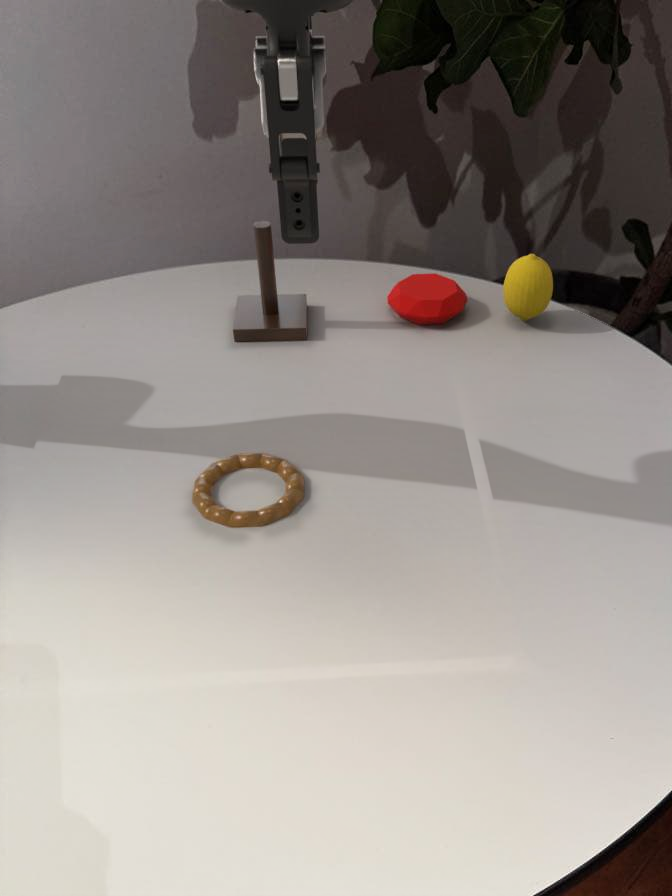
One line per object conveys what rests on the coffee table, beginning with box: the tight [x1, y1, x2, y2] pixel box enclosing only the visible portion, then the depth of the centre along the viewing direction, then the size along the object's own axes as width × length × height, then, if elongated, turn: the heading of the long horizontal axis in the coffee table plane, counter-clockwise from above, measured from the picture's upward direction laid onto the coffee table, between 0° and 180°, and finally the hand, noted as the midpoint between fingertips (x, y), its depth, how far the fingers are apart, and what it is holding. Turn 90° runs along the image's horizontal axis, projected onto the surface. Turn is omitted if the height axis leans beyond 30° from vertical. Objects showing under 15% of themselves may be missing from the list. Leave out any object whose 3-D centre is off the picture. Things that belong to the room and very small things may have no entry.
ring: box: [191, 452, 305, 529], centre depth 76 cm, size 10×10×2 cm
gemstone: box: [386, 272, 468, 326], centre depth 101 cm, size 9×9×3 cm
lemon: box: [502, 253, 554, 322], centre depth 98 cm, size 6×6×8 cm
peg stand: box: [232, 220, 308, 343], centre depth 96 cm, size 8×8×12 cm
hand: (301, 212), depth 55 cm, fingers open, 8 cm apart
